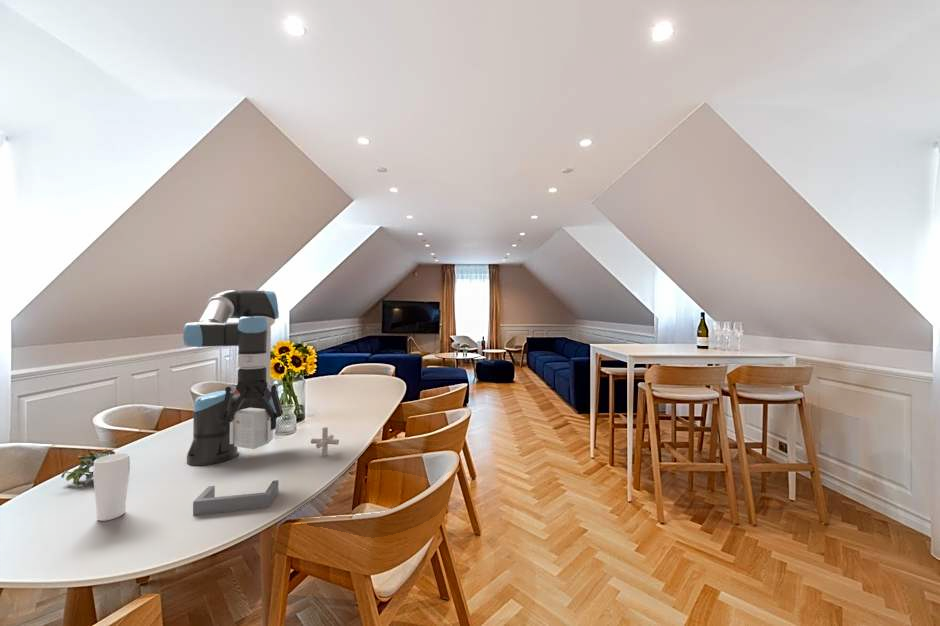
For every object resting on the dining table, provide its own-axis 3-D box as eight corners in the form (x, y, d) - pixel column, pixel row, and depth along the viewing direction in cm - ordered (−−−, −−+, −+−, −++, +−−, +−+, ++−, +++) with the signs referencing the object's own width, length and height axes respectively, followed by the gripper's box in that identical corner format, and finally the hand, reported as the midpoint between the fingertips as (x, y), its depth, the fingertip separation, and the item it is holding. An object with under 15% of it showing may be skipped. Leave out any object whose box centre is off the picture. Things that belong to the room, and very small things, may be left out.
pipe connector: (343, 450, 144) (343, 424, 144) (331, 460, 134) (331, 432, 134) (318, 449, 145) (318, 423, 145) (304, 459, 135) (305, 431, 135)
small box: (269, 443, 115) (269, 409, 115) (253, 449, 110) (253, 413, 110) (249, 440, 117) (250, 407, 118) (233, 446, 112) (233, 411, 112)
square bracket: (193, 515, 97) (193, 501, 97) (208, 498, 106) (208, 486, 106) (269, 507, 101) (269, 494, 101) (278, 492, 110) (278, 480, 110)
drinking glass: (86, 526, 92) (87, 464, 92) (100, 512, 98) (101, 454, 98) (122, 520, 94) (123, 460, 94) (133, 507, 101) (134, 451, 101)
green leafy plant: (107, 493, 120) (136, 459, 123) (79, 503, 109) (112, 465, 113) (76, 473, 119) (106, 440, 123) (45, 482, 109) (79, 445, 112)
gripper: (205, 370, 108) (204, 448, 107) (289, 368, 113) (288, 442, 112) (216, 366, 115) (215, 440, 115) (294, 364, 120) (294, 435, 120)
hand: (251, 441), depth 114 cm, fingers closed on small box, 9 cm apart
